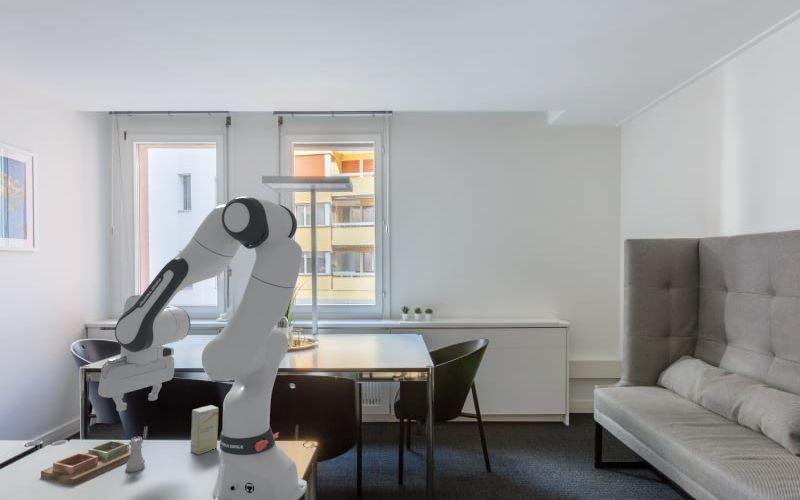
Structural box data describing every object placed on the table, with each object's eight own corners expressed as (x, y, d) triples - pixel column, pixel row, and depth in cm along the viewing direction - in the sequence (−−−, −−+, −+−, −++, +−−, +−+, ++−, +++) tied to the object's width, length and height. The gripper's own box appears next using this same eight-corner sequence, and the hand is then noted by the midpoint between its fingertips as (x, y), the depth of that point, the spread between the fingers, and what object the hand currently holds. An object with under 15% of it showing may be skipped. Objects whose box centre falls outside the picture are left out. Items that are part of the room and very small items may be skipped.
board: (138, 455, 123) (139, 443, 123) (73, 485, 106) (73, 471, 106) (108, 449, 127) (109, 437, 127) (40, 477, 110) (41, 463, 110)
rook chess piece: (148, 465, 118) (149, 435, 118) (137, 473, 113) (138, 442, 114) (133, 464, 118) (134, 434, 118) (121, 472, 114) (122, 441, 114)
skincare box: (197, 455, 124) (198, 412, 125) (189, 451, 127) (191, 409, 127) (218, 448, 129) (219, 407, 130) (210, 444, 132) (211, 404, 132)
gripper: (111, 362, 106) (109, 419, 106) (178, 348, 125) (177, 396, 125) (93, 360, 108) (90, 415, 108) (162, 346, 127) (160, 393, 127)
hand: (137, 404), depth 116 cm, fingers open, 8 cm apart
